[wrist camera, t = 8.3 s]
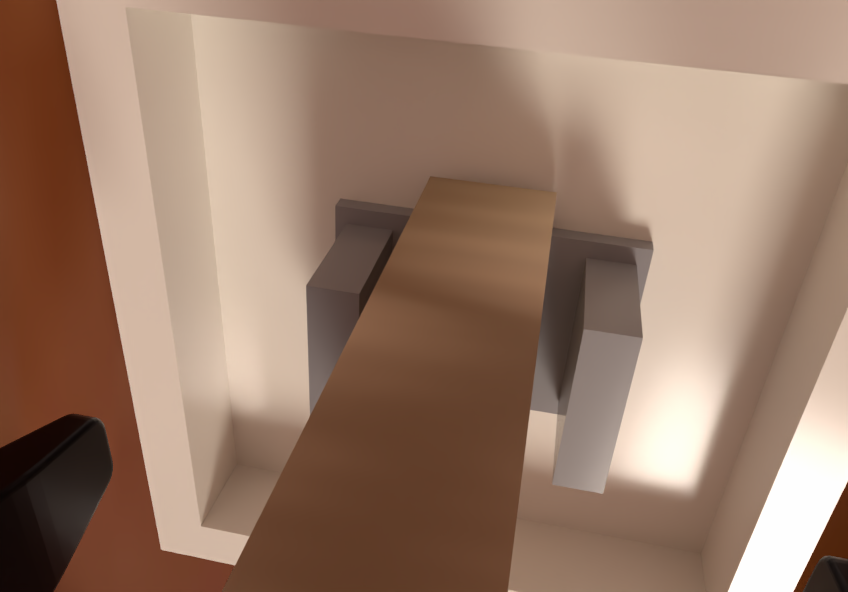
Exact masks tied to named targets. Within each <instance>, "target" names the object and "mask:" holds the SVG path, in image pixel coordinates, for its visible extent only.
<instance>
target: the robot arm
mask: <svg viewBox="0 0 848 592" xmlns="http://www.w3.org/2000/svg"><path fill="white" fill-rule="evenodd" d="M112 471H113V461H112V457H111V452H110V448H109V443H108V439H107V434H106V430H105V426H104V424H103V422H102V421H101V420H100V419H98V418H95V417H89V416H84V415H79V414H69V415H66V416H64V417H61V418H59V419H57V420H55V421H53V422H51V423H49V424H47V425H45V426H43V427H41V428H39V429H37V430H35V431H33V432H31V433H29V434H27V435H25V436H23V437H21V438H19V439H17V440H15V441H13V442H11V443H9V444H7V445H5V446H3V447H1V448H0V592H54V590H55V588H56V587H57V585H58V583H59V581H60V579H61V578H62V576H63V574H64V572H65V570H66V568H67V566H68V564H69V562H70V560H71V558H72V556H73V554H74V552H75V550H76V548H77V546H78V544H79V542H80V540H81V538H82V536H83V534H84V532H85V530H86V528H87V526H88V524H89V522H90V520H91V518H92V516H93V514H94V512H95V510H96V508H97V506H98V504H99V502H100V500H101V498H102V496H103V494H104V492H105V490H106V488H107V486H108V484H109V481H110V479H111V476H112ZM803 592H848V559H844V558H839V557H833V556H824V557H822V558H821V559H820V560H819V562H818V563H817V565H816V567H815V569H814V571H813V573H812V575H811V577H810V579H809V581H808V583H807V585H806V587H805V589H804V591H803Z"/></svg>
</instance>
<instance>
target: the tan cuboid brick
mask: <svg viewBox="0 0 848 592" xmlns="http://www.w3.org/2000/svg"><path fill="white" fill-rule="evenodd" d="M556 196H557V192H549V191H541V190H534V189H526V188H518V187H510V186H502V185H495V184H487V183H479V182H471V181H464V180H456V179H448V178H440V177H433V176H430V178H429V180H428V182H427V184H426V186H425V188H424V190H423V192H422V194H421V196H420V198H419V200H418V202H417V204H416V206H415V208H414V210H413V212H412V214H411V216H410V218H409V220H408V222H407V224H406V226H405V228H404V230H403V232H402V234H401V236H400V238H399V240H398V242H397V244H396V246H395V248H394V250H393V252H392V254H391V256H390V258H389V260H388V262H387V264H386V266H385V268H384V270H383V272H382V274H381V276H380V278H379V280H378V282H377V284H376V286H375V288H374V290H373V291H372V293H371V295H370V297H369V299H368V301H367V303H366V305H365V307H364V309H363V311H362V313H361V315H360V317H359V319H358V321H357V323H356V325H355V327H354V329H353V331H352V333H351V335H350V337H349V339H348V341H347V343H346V345H345V347H344V349H343V351H342V353H341V355H340V357H339V359H338V361H337V363H336V365H335V367H334V369H333V371H332V373H331V375H330V377H329V379H328V381H327V383H326V385H325V387H324V389H323V391H322V393H321V395H320V397H319V399H318V401H317V403H316V405H315V407H314V409H313V411H312V413H311V415H310V417H309V419H308V421H307V423H306V425H305V427H304V429H303V431H302V433H301V435H300V437H299V439H298V441H297V443H296V445H295V447H294V449H293V451H292V453H291V455H290V457H289V459H288V461H287V463H286V465H285V467H284V469H283V471H282V473H281V475H280V477H279V479H278V481H277V483H276V485H275V487H274V489H273V491H272V493H271V495H270V497H269V499H268V501H267V503H266V505H265V507H264V509H263V511H262V513H261V515H260V517H259V519H258V521H257V523H256V525H255V527H254V529H253V531H252V533H251V535H250V537H249V539H248V541H247V543H246V545H245V547H244V549H243V551H242V553H241V555H240V557H239V559H238V561H237V563H236V565H235V566H234V568H233V570H232V572H231V574H230V576H229V578H228V580H227V582H226V584H225V586H224V588H223V590H222V592H508V585H509V577H510V569H511V561H512V553H513V545H514V537H515V528H516V520H517V512H518V504H519V496H520V488H521V480H522V472H523V464H524V455H525V447H526V439H527V431H528V423H529V415H530V407H531V399H532V391H533V382H534V374H535V366H536V358H537V350H538V342H539V334H540V326H541V318H542V309H543V301H544V293H545V285H546V277H547V269H548V261H549V253H550V245H551V236H552V228H553V220H554V212H555V204H556Z"/></svg>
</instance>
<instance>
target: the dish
mask: <svg viewBox="0 0 848 592" xmlns="http://www.w3.org/2000/svg"><path fill="white" fill-rule="evenodd" d="M56 1H57V7H58V12H59V17H60V22H61V28H62V33H63V38H64V43H65V49H66V54H67V59H68V64H69V69H70V75H71V80H72V85H73V90H74V96H75V101H76V106H77V111H78V117H79V122H80V127H81V132H82V138H83V143H84V148H85V153H86V158H87V164H88V169H89V174H90V179H91V185H92V190H93V195H94V200H95V206H96V211H97V216H98V221H99V227H100V232H101V237H102V242H103V247H104V253H105V258H106V263H107V268H108V274H109V279H110V284H111V289H112V295H113V300H114V305H115V310H116V316H117V321H118V326H119V331H120V336H121V342H122V347H123V352H124V357H125V363H126V368H127V373H128V378H129V384H130V389H131V394H132V399H133V405H134V410H135V415H136V420H137V425H138V431H139V436H140V441H141V446H142V452H143V457H144V462H145V467H146V473H147V478H148V483H149V488H150V494H151V499H152V504H153V509H154V514H155V520H156V525H157V530H158V535H159V541H160V546H161V550H165V551H170V552H175V553H179V554H184V555H189V556H194V557H198V558H203V559H208V560H212V561H217V562H222V563H227V564H231V565H236V563H237V561H238V559H239V557H240V555H241V553H242V551H243V549H244V547H245V545H246V543H247V541H248V539H249V537H250V535H251V533H252V531H253V529H254V527H255V525H256V523H257V521H258V519H259V517H260V515H261V513H262V511H263V509H264V507H265V505H266V503H267V501H268V499H269V497H270V495H271V493H272V491H273V489H274V487H275V485H276V483H277V481H278V479H279V477H280V475H281V473H282V471H283V469H284V467H285V465H286V463H287V461H288V459H289V457H290V455H291V453H292V451H293V449H294V447H295V445H296V443H297V441H298V439H299V437H300V435H301V433H302V431H303V429H304V427H305V425H306V423H307V421H308V419H309V417H310V415H311V413H312V411H313V409H314V407H315V405H316V403H317V401H318V399H319V397H320V395H321V393H322V391H323V389H324V387H325V385H326V383H327V381H328V379H329V377H330V375H331V373H332V371H333V369H334V367H335V365H336V363H337V361H338V359H339V357H340V355H341V353H342V351H343V349H344V347H345V345H346V343H347V341H348V339H349V337H350V335H351V333H352V331H353V329H354V327H355V325H356V323H357V321H358V319H359V317H360V315H361V313H362V311H363V309H364V307H365V305H366V303H367V301H368V299H369V297H370V295H371V293H372V291H373V290H374V288H375V286H376V284H377V282H378V280H379V278H380V276H381V274H382V272H383V270H384V268H385V266H386V264H387V262H388V260H389V258H390V256H391V254H392V252H393V250H394V248H395V246H396V244H397V242H398V240H399V238H400V236H401V234H402V232H403V230H404V228H405V226H406V224H407V222H408V220H409V218H410V216H411V214H412V212H413V210H414V208H415V206H416V204H417V202H418V200H419V198H420V196H421V194H422V192H423V190H424V188H425V186H426V184H427V182H428V180H429V178H430V176H433V177H440V178H448V179H456V180H464V181H471V182H479V183H487V184H495V185H502V186H510V187H518V188H526V189H534V190H541V191H549V192H557V196H556V204H555V212H554V220H553V228H552V236H551V245H550V253H549V261H548V269H547V277H546V285H545V293H544V301H543V309H542V318H541V326H540V334H539V342H538V350H537V358H536V366H535V374H534V382H533V391H532V399H531V407H530V415H529V423H528V431H527V439H526V447H525V455H524V464H523V472H522V480H521V488H520V496H519V504H518V512H517V520H516V528H515V537H514V545H513V553H512V561H511V569H510V577H509V585H508V592H793V591H794V589H795V587H796V585H797V583H798V581H799V579H800V577H801V575H802V573H803V571H804V569H805V567H806V565H807V563H808V561H809V559H810V557H811V555H812V553H813V551H814V548H815V546H816V544H817V542H818V540H819V538H820V536H821V534H822V532H823V530H824V528H825V526H826V524H827V522H828V520H829V518H830V516H831V514H832V512H833V510H834V508H835V506H836V504H837V502H838V500H839V498H840V496H841V494H842V492H843V490H844V488H845V486H846V484H847V482H848V0H56Z"/></svg>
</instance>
